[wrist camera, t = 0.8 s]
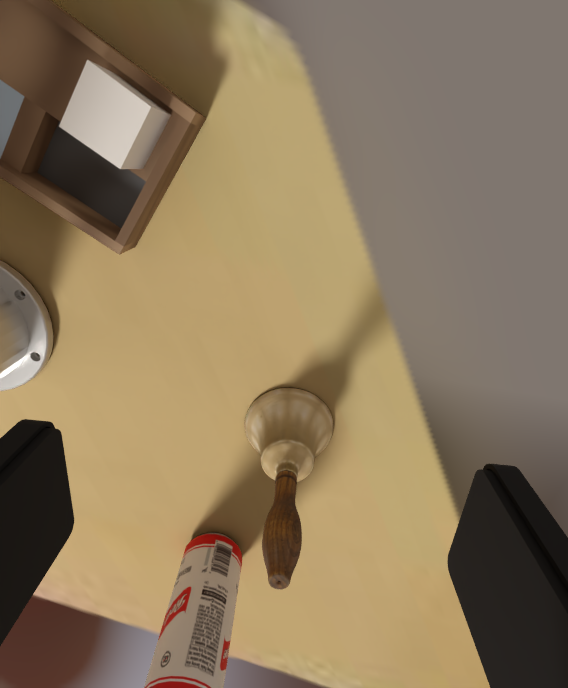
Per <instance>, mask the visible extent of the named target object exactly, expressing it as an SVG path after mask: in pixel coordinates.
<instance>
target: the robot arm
mask: <svg viewBox="0 0 568 688" xmlns="http://www.w3.org/2000/svg"><path fill="white" fill-rule="evenodd" d="M52 348H53V329H52V322H51V319H50V316H49V313H48V310H47V308H46V306H45V305H44V303H43V301H42V299H41V297H40V296H39V294H38V293H37V292H36V290H35V289H34V288H33V286H32V285H31V284H30V283H29V282H28V281H27V280H26V279H25V278H24V277H23V276H22V275H21V274H20V273H19V272H17V271H16V270H15V269H13V268H12V267H11V266H9V265H8V264H6V263H5V262H3V261H1V260H0V391H5V390H10V389H14V388H17V387H19V386H21V385H24V384H26V383H27V382H28V381H30V380H31V379H32V378H34V377H35V376H36V375H37V374H38V373H39V372H40V371H41V370H42V369H43V368H44V367H45V365H46V363H47V362H48V360H49V358H50V355H51V352H52ZM73 525H74V515H73V508H72V501H71V495H70V488H69V481H68V475H67V468H66V461H65V455H64V448H63V441H62V435H61V432H60V430H58V429H55V427H54V425H53V423H51V422H48V421H37V420H27V419H25V420H21V421H20V422H18V423H17V424H16V425H15V426H14V427H13V428H11V429H10V430H9V431H8V432H7V433H6V434H5V435H4V436H3V437H1V438H0V646H1V644H2V642H3V641H4V639H5V638H6V636H7V635H8V633H9V631H10V630H11V628H12V627H13V625H14V623H15V622H16V620H17V619H18V617H19V616H20V614H21V612H22V611H23V609H24V608H25V606H26V604H27V603H28V601H29V600H30V598H31V597H32V595H33V593H34V592H35V590H36V589H37V587H38V585H39V584H40V582H41V581H42V579H43V578H44V576H45V574H46V573H47V571H48V570H49V568H50V566H51V565H52V563H53V562H54V560H55V558H56V557H57V555H58V554H59V552H60V551H61V549H62V547H63V546H64V544H65V543H66V541H67V539H68V538H69V536H70V534H71V532H72V529H73ZM448 570H449V573H450V576H451V579H452V582H453V585H454V587H455V590H456V593H457V596H458V599H459V601H460V604H461V607H462V610H463V612H464V615H465V618H466V621H467V624H468V626H469V629H470V632H471V635H472V637H473V640H474V643H475V646H476V649H477V651H478V654H479V657H480V660H481V662H482V665H483V668H484V671H485V674H486V676H487V679H488V682H489V685H490V688H568V538H567V536H566V535H565V534H564V532H563V530H562V529H561V528H560V526H559V525H558V523H557V522H556V521H555V519H554V518H553V516H552V515H551V514H550V512H549V511H548V510H547V508H546V507H545V505H544V504H543V502H542V501H541V500H540V498H539V497H538V495H537V494H536V493H535V491H534V490H533V488H532V487H531V486H530V484H529V483H528V481H527V480H526V479H525V477H524V476H523V474H522V473H521V472H520V470H519V469H518V468H517V467H515V466H508V465H498V464H486V465H485V466H484V468H483V470H478V471H477V472H476V474H475V476H474V479H473V482H472V485H471V488H470V491H469V494H468V497H467V500H466V503H465V506H464V509H463V512H462V515H461V518H460V521H459V524H458V527H457V530H456V533H455V536H454V539H453V542H452V545H451V548H450V551H449V554H448Z"/></svg>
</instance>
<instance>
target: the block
mask: <svg viewBox="0 0 568 688" xmlns="http://www.w3.org/2000/svg"><path fill="white" fill-rule="evenodd" d="M170 116H171V114H169V113H168V112H167V111H165V110H164V109H163V108H161V107H160V106H158V105H157V104H156V103H154V102H153V101H152V100H150V99H149V98H148V97H146V96H145V95H144V94H142V93H141V92H140V91H138V90H137V89H136V88H134V87H133V86H132V85H130V84H129V83H128V82H126V81H125V80H124V79H122V78H121V77H120V76H118V75H117V74H115V73H113V72H111V71H109V70H107V69H105V68H103V67H101V66H99V65H97V64H95V63H93V62H91V61H89V60H87V62H86V64H85V66H84V69H83V71H82V73H81V76H80V78H79V80H78V83H77V85H76V87H75V90H74V92H73V94H72V97H71V99H70V101H69V104H68V106H67V108H66V111H65V113H64V116H63V118H62V120H61V123H60V125H59V127H60V128H62V129H63V130H65V131H66V132H68V133H69V134H70V135H72V136H73V137H75V138H76V139H78V140H79V141H81V142H82V143H83V144H85V145H86V146H88V147H89V148H91V149H92V150H93V151H95V152H96V153H98V154H99V155H101V156H102V157H103V158H105V159H106V160H108V161H109V162H111V163H112V164H114V165H115V166H116V167H118V168H119V169H143V168H144V166H145V164H146V162H147V160H148V159H149V157H150V155H151V153H152V151H153V149H154V147H155V145H156V143H157V141H158V139H159V137H160V135H161V134H162V132H163V130H164V128H165V126H166V124H167V122H168V120H169V118H170Z"/></svg>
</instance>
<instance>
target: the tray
mask: <svg viewBox="0 0 568 688" xmlns="http://www.w3.org/2000/svg"><path fill="white" fill-rule="evenodd" d="M87 60H89V61H91V62H93V63H95V64H97V65H99V66H101V67H103V68H105V69H107V70H109V71H111V72H113V73H115V74H117V75H118V76H120V77H121V78H122V79H124V80H125V81H126V82H128V83H129V84H130V85H132V86H133V87H134V88H136V89H137V90H138V91H140V92H141V93H142V94H144V95H145V96H146V97H148V98H149V99H150V100H152V101H153V102H154V103H156V104H157V105H158V106H160V107H161V108H163V109H164V110H165V111H167V112H168V113H169V114H171V116H170V118H169V120H168V122H167V124H166V126H165V128H164V130H163V132H162V134H161V135H160V137H159V139H158V141H157V143H156V145H155V147H154V149H153V151H152V153H151V155H150V157H149V159H148V160H147V162H146V164H145V166H144V168H143V169H119V168H118V167H116V166H115V165H114V164H112V163H111V162H109V161H108V160H106V159H105V158H103V157H102V156H101V155H99V154H98V153H96V152H95V151H93V150H92V149H91V148H89V147H88V146H86V145H85V144H83V143H82V142H81V141H79V140H78V139H76V138H75V137H73V136H72V135H70V134H69V133H68V132H66V131H65V130H63V129H62V128H60V127H59V125H60V123H61V120H62V118H63V116H64V113H65V111H66V108H67V106H68V104H69V101H70V99H71V97H72V94H73V92H74V90H75V87H76V85H77V83H78V80H79V78H80V76H81V73H82V71H83V69H84V66H85V64H86V62H87ZM0 80H2V81H3V82H4V83H6V84H7V85H9V86H10V87H12V88H13V89H14V90H16V91H17V92H19V93H20V94H22V95H23V96H24V99H23V102H22V104H21V107H20V109H19V112H18V115H17V117H16V120H15V122H14V125H13V128H12V130H11V133H10V135H9V138H8V141H7V143H6V146H5V148H4V151H3V154H2V156H1V159H0V177H1V178H2V179H4V180H6V181H7V182H9V183H10V184H12V185H13V186H15V187H16V188H18V189H19V190H21V191H22V192H24V193H26V194H27V195H29V196H30V197H32V198H33V199H35V200H36V201H38V202H39V203H41V204H42V205H44V206H45V207H47V208H49V209H50V210H52V211H53V212H55V213H56V214H58V215H59V216H61V217H62V218H64V219H65V220H67V221H68V222H70V223H72V224H73V225H75V226H76V227H78V228H79V229H81V230H82V231H84V232H85V233H87V234H88V235H90V236H92V237H93V238H95V239H96V240H98V241H99V242H101V243H102V244H104V245H105V246H107V247H108V248H110V249H111V250H113V251H115V252H116V253H118V254H119V255H120V254H122V253H124V252H126V251H128V250H130V249H132V248H134V247H136V245H137V243H138V241H139V239H140V238H141V236H142V234H143V232H144V230H145V228H146V227H147V225H148V223H149V221H150V219H151V218H152V216H153V214H154V212H155V210H156V209H157V207H158V205H159V203H160V201H161V199H162V198H163V196H164V194H165V192H166V190H167V189H168V187H169V185H170V183H171V181H172V180H173V178H174V176H175V174H176V172H177V171H178V169H179V167H180V165H181V163H182V161H183V160H184V158H185V156H186V154H187V152H188V151H189V149H190V147H191V145H192V143H193V142H194V140H195V138H196V136H197V134H198V132H199V131H200V129H201V127H202V125H203V123H204V122H205V120H206V118H205V117H204V116H203V115H201V114H200V113H199V112H197V111H196V110H195V109H194V108H192V107H191V106H190V105H188V104H187V103H186V102H184V101H183V100H182V99H180V98H179V97H178V96H176V95H175V94H174V93H172V92H171V91H170V90H168V89H167V88H166V87H165V86H163V85H162V84H161V83H159V82H158V81H157V80H155V79H154V78H153V77H151V76H150V75H149V74H147V73H146V72H145V71H143V70H142V69H141V68H139V67H138V66H137V65H135V64H134V63H133V62H132V61H130V60H129V59H128V58H126V57H125V56H124V55H122V54H121V53H120V52H118V51H117V50H116V49H114V48H113V47H112V46H110V45H109V44H108V43H106V42H105V41H104V40H102V39H101V38H100V37H99V36H97V35H96V34H95V33H93V32H92V31H91V30H89V29H88V28H87V27H85V26H84V25H83V24H81V23H80V22H79V21H77V20H76V19H75V18H73V17H72V16H71V15H70V14H68V13H67V12H66V11H64V10H63V9H62V8H60V7H59V6H58V5H56V4H55V3H54V2H52V1H51V0H0Z"/></svg>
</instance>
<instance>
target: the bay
mask: <svg viewBox="0 0 568 688" xmlns="http://www.w3.org/2000/svg"><path fill="white" fill-rule="evenodd" d="M23 99H24V96H23V95H22V94H20V93H19V92H17V91H16V90H14V89H13V88H12V87H10V86H9V85H7V84H6V83H4V82H3V81H2V80H0V159H1V156H2V154H3V151H4V148H5V146H6V143H7V141H8V138H9V135H10V133H11V130H12V128H13V125H14V122H15V120H16V117H17V115H18V112H19V109H20V107H21V104H22V102H23Z"/></svg>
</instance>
